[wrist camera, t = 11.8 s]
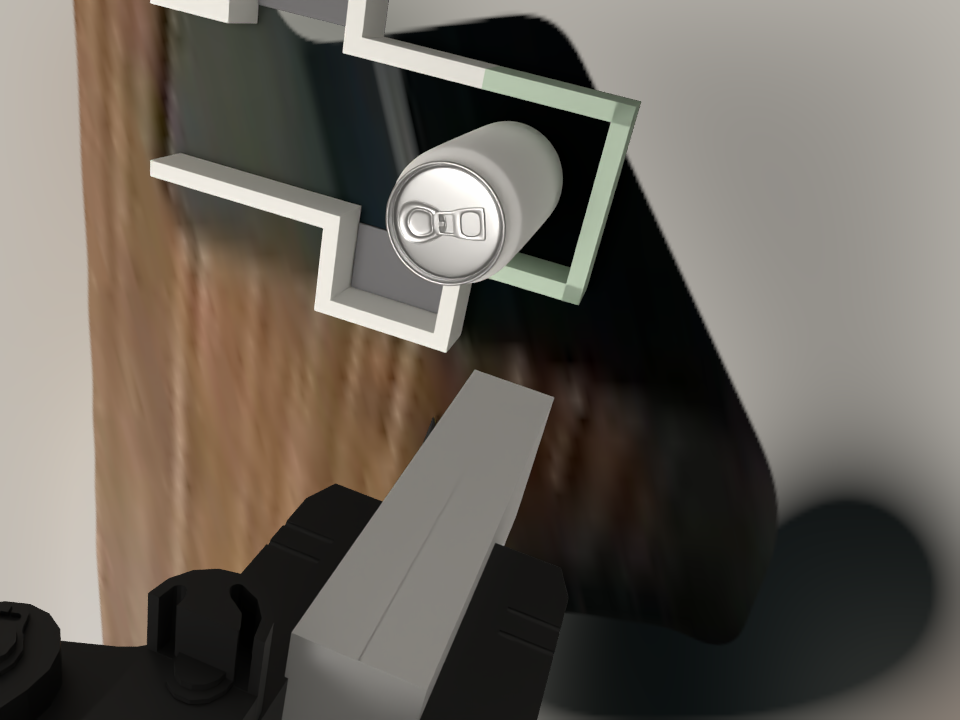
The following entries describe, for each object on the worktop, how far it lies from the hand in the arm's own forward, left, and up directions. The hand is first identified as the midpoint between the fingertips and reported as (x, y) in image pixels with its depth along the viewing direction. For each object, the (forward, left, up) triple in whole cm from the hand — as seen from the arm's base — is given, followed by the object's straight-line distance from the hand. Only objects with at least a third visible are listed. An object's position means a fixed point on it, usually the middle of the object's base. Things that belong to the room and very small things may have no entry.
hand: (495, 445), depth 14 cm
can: (+6, -4, -32) cm, 32 cm away
